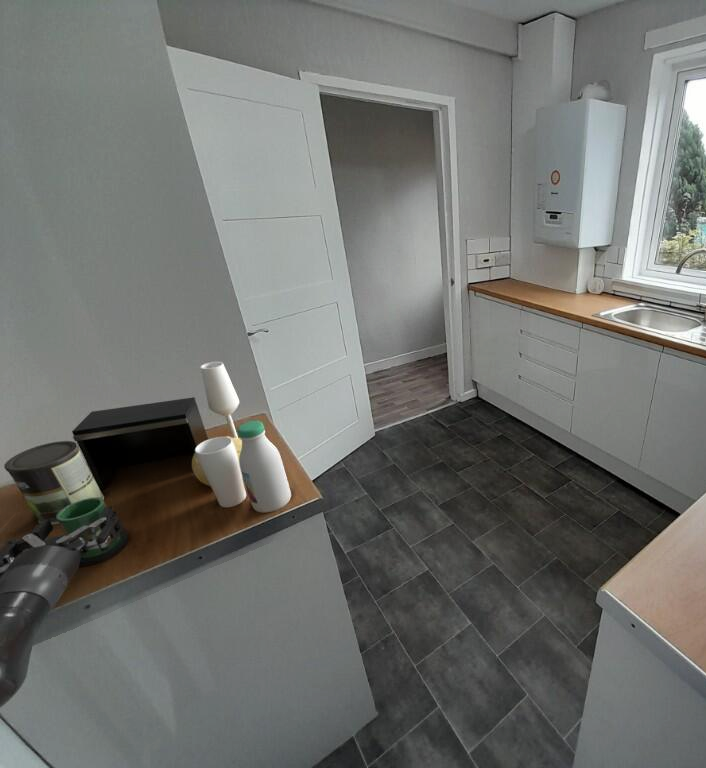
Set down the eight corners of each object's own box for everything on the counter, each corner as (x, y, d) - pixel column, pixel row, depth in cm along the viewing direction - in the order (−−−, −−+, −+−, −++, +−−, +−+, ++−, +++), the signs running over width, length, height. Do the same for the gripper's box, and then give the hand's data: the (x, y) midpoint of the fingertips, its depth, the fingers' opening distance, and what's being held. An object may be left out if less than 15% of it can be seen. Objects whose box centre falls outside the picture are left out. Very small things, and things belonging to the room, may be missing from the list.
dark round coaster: (64, 571, 74) (61, 567, 73) (83, 541, 80) (81, 537, 80) (120, 557, 77) (118, 553, 77) (134, 529, 84) (133, 525, 83)
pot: (70, 562, 74) (49, 524, 71) (85, 539, 80) (66, 502, 76) (114, 551, 77) (95, 514, 73) (126, 529, 82) (109, 494, 78)
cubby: (99, 492, 94) (70, 432, 87) (116, 468, 102) (91, 411, 96) (204, 471, 102) (184, 415, 95) (211, 450, 110) (194, 397, 104)
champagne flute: (256, 443, 114) (233, 363, 103) (231, 455, 108) (203, 372, 98) (243, 436, 117) (219, 358, 106) (218, 447, 111) (190, 366, 101)
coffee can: (44, 533, 82) (9, 477, 76) (33, 512, 87) (-1, 457, 81) (111, 504, 90) (83, 451, 84) (97, 486, 95) (70, 435, 89)
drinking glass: (208, 506, 90) (186, 449, 84) (237, 487, 96) (218, 433, 90) (229, 514, 88) (208, 457, 82) (257, 495, 94) (240, 440, 87)
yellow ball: (216, 500, 92) (202, 461, 88) (189, 482, 98) (174, 444, 93) (266, 473, 101) (255, 436, 97) (238, 458, 107) (227, 422, 102)
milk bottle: (296, 488, 96) (276, 415, 87) (285, 511, 89) (263, 434, 80) (260, 492, 95) (237, 417, 86) (247, 515, 88) (220, 437, 79)
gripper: (84, 551, 62) (122, 489, 75) (-52, 585, 56) (15, 511, 70) (103, 586, 65) (137, 521, 78) (-24, 622, 59) (35, 544, 73)
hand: (80, 516), depth 74 cm, fingers open, 8 cm apart
